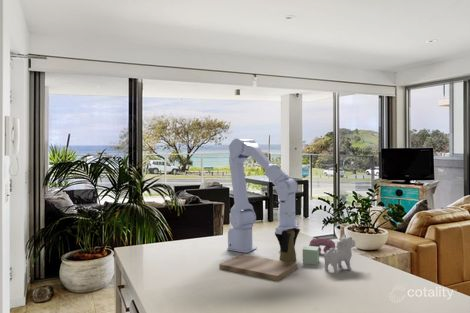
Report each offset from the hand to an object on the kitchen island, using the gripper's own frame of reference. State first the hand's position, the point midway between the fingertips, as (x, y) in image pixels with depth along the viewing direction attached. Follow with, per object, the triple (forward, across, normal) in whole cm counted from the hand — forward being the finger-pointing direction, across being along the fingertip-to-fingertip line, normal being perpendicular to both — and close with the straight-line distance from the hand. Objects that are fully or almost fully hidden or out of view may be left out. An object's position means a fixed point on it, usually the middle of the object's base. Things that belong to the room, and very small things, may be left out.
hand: (287, 250), depth 134 cm
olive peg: (+4, 0, 0) cm, 4 cm away
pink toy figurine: (+4, +14, -7) cm, 16 cm away
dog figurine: (+4, 0, -19) cm, 19 cm away
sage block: (+3, +2, -8) cm, 9 cm away
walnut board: (+3, -14, +4) cm, 15 cm away
